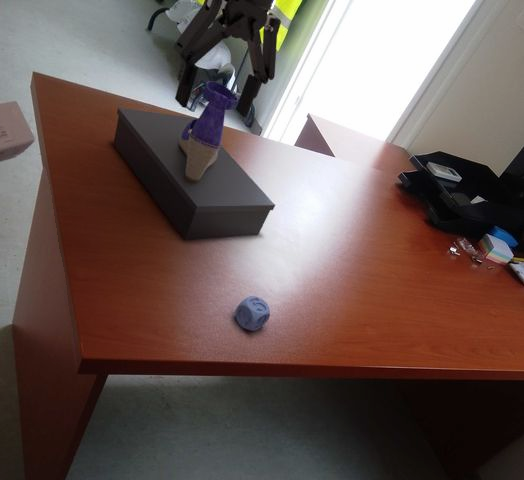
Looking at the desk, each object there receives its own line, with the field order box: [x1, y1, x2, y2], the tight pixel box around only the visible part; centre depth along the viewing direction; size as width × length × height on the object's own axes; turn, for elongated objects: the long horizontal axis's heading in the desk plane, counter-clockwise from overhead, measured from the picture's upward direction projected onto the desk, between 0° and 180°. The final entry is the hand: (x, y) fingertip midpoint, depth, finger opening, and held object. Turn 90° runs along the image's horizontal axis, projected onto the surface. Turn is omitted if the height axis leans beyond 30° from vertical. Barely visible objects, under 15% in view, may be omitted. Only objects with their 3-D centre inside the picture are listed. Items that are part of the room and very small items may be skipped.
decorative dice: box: [235, 295, 271, 332], centre depth 73 cm, size 4×4×4 cm
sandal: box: [179, 80, 239, 183], centre depth 82 cm, size 8×20×15 cm, turn 176°
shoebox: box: [112, 107, 276, 241], centre depth 91 cm, size 31×19×7 cm, turn 39°
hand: (212, 108), depth 82 cm, fingers open, 13 cm apart
